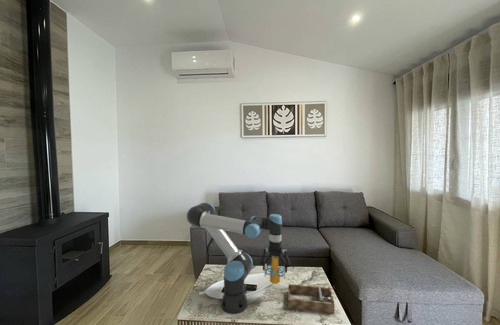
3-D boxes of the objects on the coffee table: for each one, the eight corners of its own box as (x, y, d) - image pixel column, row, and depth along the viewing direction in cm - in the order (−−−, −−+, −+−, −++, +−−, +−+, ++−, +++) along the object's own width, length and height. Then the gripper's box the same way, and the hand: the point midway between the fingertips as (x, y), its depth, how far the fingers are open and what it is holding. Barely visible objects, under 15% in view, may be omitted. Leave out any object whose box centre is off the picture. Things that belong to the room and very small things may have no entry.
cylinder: (268, 287, 133) (268, 261, 132) (262, 278, 143) (262, 254, 142) (287, 284, 136) (288, 259, 136) (280, 275, 146) (281, 252, 146)
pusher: (320, 309, 128) (320, 299, 128) (318, 295, 141) (318, 286, 141) (334, 311, 127) (334, 301, 127) (331, 296, 140) (331, 287, 139)
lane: (287, 307, 130) (287, 297, 130) (288, 291, 146) (288, 282, 146) (334, 313, 125) (334, 302, 125) (329, 295, 141) (329, 286, 141)
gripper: (255, 241, 137) (254, 277, 138) (295, 244, 133) (294, 281, 133) (257, 236, 145) (256, 271, 145) (294, 239, 140) (294, 275, 141)
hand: (274, 276), depth 139 cm, fingers closed on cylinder, 11 cm apart
